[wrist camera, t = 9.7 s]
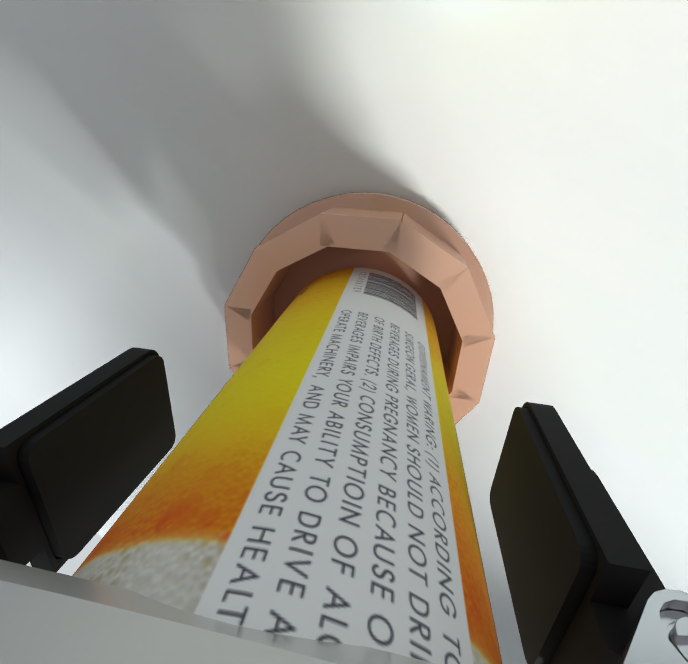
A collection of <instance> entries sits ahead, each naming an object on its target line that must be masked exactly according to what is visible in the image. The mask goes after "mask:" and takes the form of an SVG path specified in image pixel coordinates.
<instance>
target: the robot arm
mask: <svg viewBox="0 0 688 664" xmlns="http://www.w3.org/2000/svg"><path fill="white" fill-rule="evenodd" d="M174 442H175V429H174V422H173V416H172V410H171V404H170V398H169V391H168V385H167V379H166V373H165V366H164V361H163V359H162V357H160V356H159V354H158V353H157V352H156V351H155V350H150V349H142V348H131V349H129V350H127V351H125V352H124V353H122V354H121V355H119V356H117V357H116V358H114V359H112V360H111V361H109V362H108V363H106V364H104V365H103V366H101V367H100V368H98V369H96V370H95V371H93V372H91V373H90V374H88V375H87V376H85V377H83V378H82V379H80V380H79V381H77V382H75V383H74V384H72V385H71V386H69V387H67V388H66V389H64V390H62V391H61V392H59V393H58V394H56V395H54V396H53V397H51V398H50V399H48V400H46V401H45V402H43V403H41V404H40V405H38V406H37V407H35V408H33V409H32V410H30V411H29V412H27V413H25V414H24V415H22V416H20V417H19V418H17V419H16V420H14V421H12V422H11V423H9V424H8V425H6V426H4V427H3V428H1V429H0V664H435V663H431V662H427V661H423V660H419V659H415V658H411V657H406V656H402V655H398V654H394V653H390V652H386V651H382V650H378V649H374V648H370V647H366V646H357V645H349V644H341V643H333V642H326V641H318V640H312V639H306V638H300V637H294V636H288V635H282V634H275V633H270V632H266V631H261V630H256V629H252V628H247V627H242V626H238V625H233V624H229V623H226V622H222V621H218V620H214V619H211V618H207V617H203V616H200V615H196V614H193V613H190V612H187V611H184V610H181V609H178V608H175V607H172V606H169V605H166V604H163V603H160V602H158V601H155V600H153V599H151V598H148V597H146V596H143V595H141V594H139V593H136V592H134V591H132V590H129V589H125V588H121V587H117V586H112V585H108V584H104V583H99V582H95V581H91V580H86V579H82V578H78V577H73V576H69V575H65V574H61V573H56V572H57V571H58V570H59V569H60V568H61V567H62V566H63V564H64V563H65V562H66V561H67V560H68V559H71V558H73V557H75V556H76V555H77V554H78V553H79V552H80V551H81V550H82V549H83V548H84V547H85V545H86V544H87V543H88V542H89V541H90V540H91V539H92V537H93V536H94V535H95V534H96V533H97V532H98V531H99V530H100V529H101V527H102V526H103V525H104V524H105V523H106V522H107V521H108V519H109V518H110V517H111V516H112V515H113V514H114V513H115V512H116V510H117V509H118V508H119V507H120V506H121V505H122V504H123V502H124V501H125V500H126V499H127V498H128V497H129V496H130V495H131V493H132V492H133V491H134V490H135V489H136V488H137V487H138V485H139V484H140V483H141V482H142V481H143V480H144V479H145V478H146V476H147V475H148V474H149V473H150V472H151V471H152V470H153V468H154V467H155V466H156V465H157V464H158V463H159V462H160V461H161V459H162V458H163V457H164V456H165V455H166V454H167V453H168V451H169V450H170V449H171V448H172V446H173V444H174ZM490 505H491V510H492V514H493V519H494V523H495V527H496V532H497V536H498V541H499V545H500V549H501V554H502V558H503V563H504V567H505V571H506V576H507V580H508V585H509V589H510V593H511V598H512V602H513V607H514V611H515V615H516V620H517V624H518V629H519V633H520V637H521V642H522V646H523V651H524V655H525V658H526V661H527V663H528V664H688V593H685V592H682V591H678V590H669V589H665V587H664V585H663V584H662V582H661V580H660V579H659V577H658V575H657V574H656V572H655V570H654V569H653V567H652V565H651V564H650V562H649V560H648V559H647V557H646V555H645V554H644V552H643V550H642V549H641V547H640V546H639V544H638V542H637V541H636V539H635V537H634V536H633V534H632V532H631V531H630V529H629V527H628V526H627V524H626V522H625V521H624V519H623V517H622V516H621V514H620V512H619V511H618V509H617V507H616V506H615V504H614V502H613V501H612V499H611V497H610V496H609V494H608V492H607V491H606V489H605V487H604V486H603V484H602V482H601V481H600V479H599V477H598V476H597V475H596V473H595V472H594V471H593V470H591V469H590V467H589V465H588V464H587V462H586V460H585V459H584V457H583V455H582V454H581V452H580V450H579V449H578V447H577V445H576V444H575V442H574V440H573V438H572V437H571V435H570V433H569V432H568V430H567V428H566V427H565V425H564V423H563V422H562V420H561V418H560V416H559V415H558V413H557V411H556V410H555V408H554V407H553V406H550V405H543V404H536V403H529V402H526V403H525V404H524V405H523V407H522V408H521V407H516V408H515V410H514V412H513V415H512V419H511V422H510V425H509V429H508V432H507V436H506V439H505V443H504V446H503V449H502V453H501V456H500V460H499V463H498V466H497V470H496V473H495V477H494V480H493V483H492V487H491V491H490ZM29 561H30V563H31V566H32V567H30V566H26V564H27V563H28V562H29Z"/></svg>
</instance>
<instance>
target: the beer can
mask: <svg viewBox="0 0 688 664" xmlns="http://www.w3.org/2000/svg"><path fill="white" fill-rule="evenodd" d="M73 577H78V578H82V579H86V580H91V581H95V582H99V583H104V584H108V585H112V586H117V587H121V588H125V589H129V590H132V591H134V592H136V593H139V594H141V595H143V596H146V597H148V598H151V599H153V600H155V601H158V602H160V603H163V604H166V605H169V606H172V607H175V608H178V609H181V610H184V611H187V612H190V613H193V614H196V615H200V616H203V617H207V618H211V619H214V620H218V621H222V622H226V623H229V624H233V625H238V626H242V627H247V628H252V629H256V630H261V631H266V632H270V633H275V634H282V635H288V636H294V637H300V638H306V639H312V640H318V641H326V642H333V643H341V644H349V645H357V646H366V647H370V648H374V649H378V650H382V651H386V652H390V653H394V654H398V655H402V656H406V657H411V658H415V659H419V660H423V661H427V662H431V663H435V664H502V660H501V655H500V650H499V644H498V639H497V634H496V629H495V624H494V619H493V614H492V609H491V604H490V599H489V594H488V589H487V584H486V579H485V574H484V569H483V564H482V559H481V554H480V549H479V544H478V539H477V534H476V529H475V524H474V518H473V513H472V508H471V503H470V498H469V493H468V488H467V483H466V478H465V473H464V468H463V463H462V458H461V453H460V448H459V443H458V438H457V433H456V428H455V423H454V418H453V413H452V408H451V403H450V398H449V393H448V387H447V382H446V377H445V372H444V367H443V362H442V357H441V352H440V347H439V342H438V337H437V332H436V327H435V323H434V320H433V317H432V314H431V312H430V310H429V308H428V306H427V305H426V303H425V302H424V300H423V299H422V298H421V297H420V295H419V294H418V293H417V292H416V291H415V290H414V289H413V288H411V287H410V286H409V285H408V284H406V283H405V282H404V281H402V280H401V279H399V278H397V277H395V276H393V275H391V274H388V273H386V272H383V271H379V270H376V269H370V268H360V267H353V268H343V269H338V270H334V271H331V272H328V273H326V274H324V275H322V276H319V277H318V278H316V279H315V280H313V281H311V282H310V283H309V284H308V285H307V286H305V287H304V288H303V289H302V290H301V291H300V293H299V294H298V295H297V296H296V297H295V299H294V300H293V301H292V302H291V304H290V305H289V306H288V307H287V309H286V310H285V311H284V312H283V314H282V315H281V316H280V317H279V319H278V320H277V321H276V322H275V324H274V325H273V326H272V327H271V329H270V330H269V331H268V332H267V334H266V335H265V336H264V337H263V339H262V340H261V341H260V342H259V344H258V345H257V346H256V347H255V349H254V350H253V351H252V352H251V354H250V355H249V356H248V357H247V359H246V360H245V361H244V362H243V363H242V365H241V366H240V367H239V368H238V370H237V371H236V372H235V373H234V375H233V376H232V377H231V378H230V380H229V381H228V382H227V383H226V385H225V386H224V387H223V388H222V390H221V391H220V392H219V393H218V395H217V396H216V397H215V398H214V400H213V401H212V402H211V403H210V405H209V406H208V407H207V408H206V410H205V411H204V412H203V413H202V415H201V416H200V417H199V418H198V420H197V421H196V422H195V423H194V425H193V426H192V427H191V428H190V430H189V431H188V432H187V433H186V435H185V436H184V437H183V438H182V440H181V441H180V442H179V443H178V445H177V446H176V447H175V448H174V450H173V451H172V452H171V453H170V455H169V456H168V457H167V458H166V460H165V461H164V462H163V463H162V465H161V466H160V467H159V468H158V470H157V471H156V472H155V473H154V475H153V476H152V477H151V478H150V480H149V481H148V482H147V483H146V484H145V486H144V487H143V488H142V489H141V491H140V492H139V493H138V494H137V496H136V497H135V498H134V499H133V501H132V502H131V503H130V504H129V506H128V507H127V508H126V509H125V511H124V512H123V513H122V514H121V516H120V517H119V518H118V519H117V521H116V522H115V523H114V524H113V526H112V527H111V528H110V529H109V531H108V532H107V533H106V534H105V536H104V537H103V538H102V539H101V541H100V542H99V543H98V544H97V546H96V547H95V548H94V549H93V551H92V552H91V553H90V554H89V556H88V557H87V558H86V559H85V561H84V562H83V563H82V564H81V566H80V567H79V568H78V569H77V571H76V572H75V573H74V574H73Z"/></svg>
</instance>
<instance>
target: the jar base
mask: <svg viewBox="0 0 688 664" xmlns="http://www.w3.org/2000/svg"><path fill="white" fill-rule="evenodd" d="M353 267H360V268H370V269H376V270H379V271H383V272H386V273H388V274H391V275H393V276H395V277H397V278H399V279H401V280H402V281H404V282H405V283H406V284H408V285H409V286H410V287H411V288H413V289H414V290H415V291H416V292H417V293H418V294H419V295H420V297H421V298H422V299H423V300H424V302H425V303H426V305H427V306H428V308H429V310H430V312H431V314H432V317H433V320H434V323H435V327H436V332H437V337H438V342H439V347H440V352H441V357H442V362H443V367H444V372H445V377H446V382H447V387H448V393H449V398H450V403H451V408H452V413H453V418H454V423H455V424H456V423H458V422H459V421H460V420H461V419H462V418H463V417H464V416H465V415H466V414H467V413H468V412H469V411H470V410H471V409H472V408H474V407H475V406H476V405H477V404H478V403H479V401H480V397H481V393H482V389H483V385H484V381H485V377H486V373H487V369H488V365H489V361H490V356H491V352H492V348H493V344H494V340H495V336H494V333H493V304H492V297H491V292H490V289H489V285H488V282H487V279H486V276H485V274H484V272H483V270H482V267H481V265H480V263H479V261H478V260H477V258H476V256H475V255H474V253H473V252H472V250H471V249H470V247H469V246H468V244H467V243H466V242H465V241H464V240H463V238H462V237H461V236H460V235H459V234H458V233H457V232H456V230H455V229H454V228H452V227H451V226H450V225H449V224H448V223H447V222H445V221H444V220H443V219H442V218H441V217H439V216H437V215H436V214H434V213H433V212H431V211H430V210H428V209H426V208H425V207H422V206H420V205H418V204H416V203H413V202H411V201H409V200H406V199H402V198H399V197H396V196H392V195H386V194H379V193H348V194H341V195H336V196H332V197H329V198H325V199H322V200H318V201H315V202H313V203H311V204H309V205H306V206H304V207H302V208H300V209H298V210H297V211H295V212H293V213H292V214H290V215H289V216H287V217H286V218H284V219H283V220H282V221H281V222H280V223H279V224H277V225H276V226H275V227H274V228H273V229H272V230H271V231H270V232H269V233H268V235H267V236H266V237H265V238H264V239H263V240H262V242H261V243H260V245H259V246H258V247H256V248H255V249H254V251H253V253H252V255H251V257H250V259H249V260H248V262H247V264H246V266H245V268H244V270H243V272H242V274H241V275H240V277H239V279H238V281H237V283H236V285H235V287H234V289H233V290H232V292H231V294H230V296H229V298H228V300H227V302H226V304H225V318H226V331H227V343H228V356H229V366H230V368H231V370H232V371H233V373H235V372H236V371H237V370H238V368H239V367H240V366H241V365H242V363H243V362H244V361H245V360H246V359H247V357H248V356H249V355H250V354H251V352H252V351H253V350H254V349H255V347H256V346H257V345H258V344H259V342H260V341H261V340H262V339H263V337H264V336H265V335H266V334H267V332H268V331H269V330H270V329H271V327H272V326H273V325H274V324H275V322H276V321H277V320H278V319H279V317H280V316H281V315H282V314H283V312H284V311H285V310H286V309H287V307H288V306H289V305H290V304H291V302H292V301H293V300H294V299H295V297H296V296H297V295H298V294H299V293H300V291H301V290H302V289H303V288H304V287H305V286H307V285H308V284H309V283H310V282H311V281H313V280H315V279H316V278H318V277H319V276H322V275H324V274H326V273H328V272H331V271H334V270H338V269H343V268H353Z"/></svg>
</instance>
